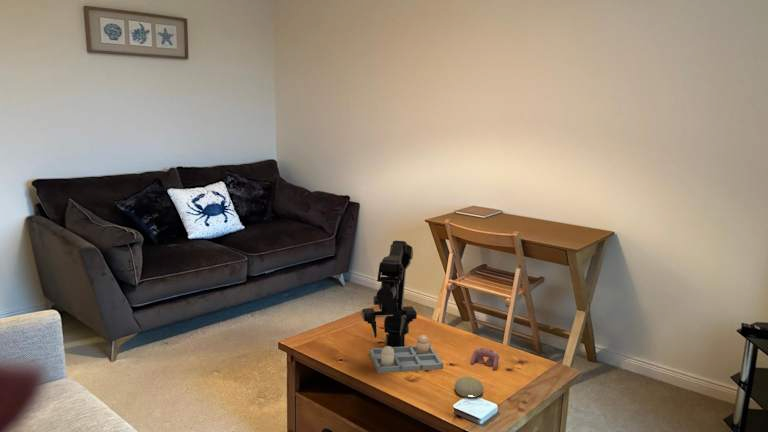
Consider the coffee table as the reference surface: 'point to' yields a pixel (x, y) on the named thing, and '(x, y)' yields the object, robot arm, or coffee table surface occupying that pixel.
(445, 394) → the coffee table surface
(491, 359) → the video game controller
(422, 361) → the grey compartment tray
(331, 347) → the coffee table surface
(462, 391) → the sea urchin shell
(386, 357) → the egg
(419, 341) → the beige rounded cylinder
